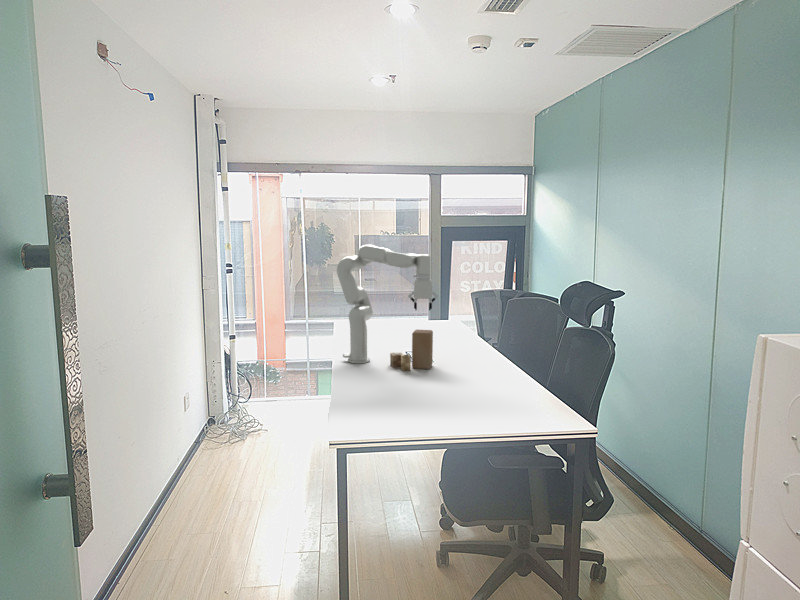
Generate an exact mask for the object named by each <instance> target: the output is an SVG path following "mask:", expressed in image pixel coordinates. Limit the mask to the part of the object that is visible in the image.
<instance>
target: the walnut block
mask: <svg viewBox="0 0 800 600" xmlns="http://www.w3.org/2000/svg"><path fill="white" fill-rule="evenodd" d="M389 354H390V355H389V357H390V358H389V359H390V360H389V361H390V362H389V364H390V365H389V366H391V368H392V369H396V368H397V369H398V368H400V369H401V355H404V354H403V353H402V352H390V353H389Z"/></svg>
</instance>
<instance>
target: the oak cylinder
mask: <svg viewBox="0 0 800 600" xmlns="http://www.w3.org/2000/svg"><path fill="white" fill-rule="evenodd" d="M411 363H412V354H411V355H410V354H403V355H401V368H400V370H401V371H402V372H410V371H411Z"/></svg>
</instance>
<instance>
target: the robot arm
mask: <svg viewBox="0 0 800 600" xmlns="http://www.w3.org/2000/svg"><path fill="white" fill-rule="evenodd" d="M372 262H373V263H378V264H383V265H388V266H391V267H395V268H401V269H410V268H415V269H416V272H415V274H414V275H413V279H415V280H414V282H413V283H414V284H413V290H412V291H411V292H410V293H409V294H408V295H407V296H408V298H409V299H410V301H412V302H413V309H414V311H417V309H418V303H417V301H418V299H428V301H429V304H428V310H429V311H431V309H433V303H434V302H435V301H436V299H438V297H439V295H438V294H436V292H435V291H433V281H432V279H431V255H430V254H427V253H424V254H423V253H421V254H417V253H401V252H395V251H392V250H390V249H389V248H386V247H379V246H376V245H374V244H364V245H361V246H360V247H359V249H358V253H357V254H355V255H349V256H348V255H347V256H346V257H344V258H342V259H341V260H340V261H339V262H338V263H337V266H336V274H337V278H338V280H339V283H340V287H341V289H342V290H341V291H342V293H343V296H344V299H345V302H346V303H347V304H348V305H354V307H352V308H351V309H350V311H349V312H348V313H349V314H348V322H349V333H350V344H349V345H350V351H349V352H348V353H343V354H342V358H346V359H347V362H349V363H351V364H366V363H369V362H370V361H371V358H370V357H368V327H367V323H366V321H368V320H370V319H371V318H372V317H373V314H374V313H373V312H374V311H373V308H372V307H373V306H372V304H371V301H370V299H369V295H368V292H367V291H366V289H364V287H361V286H358V285H357V282H356V279H355V277H354V275H353V274H352V273H353V272H355V271H360V270H361V269H363V268H364V267H366V266H368V265H369V264H370V263H372ZM412 296H413V297H412Z"/></svg>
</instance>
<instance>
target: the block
mask: <svg viewBox="0 0 800 600" xmlns="http://www.w3.org/2000/svg"><path fill="white" fill-rule="evenodd" d="M411 335H412V337H411V339H412V340H411V343H412V345H411V367H412V369H418V370H422V369H423V370H430V369H431V367H432V366H433V351H434V350H433V341H434V339H433V338H434V337H433V335H434V334H433V330H432V329H415V330H414V331H413V332H412V334H411Z"/></svg>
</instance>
